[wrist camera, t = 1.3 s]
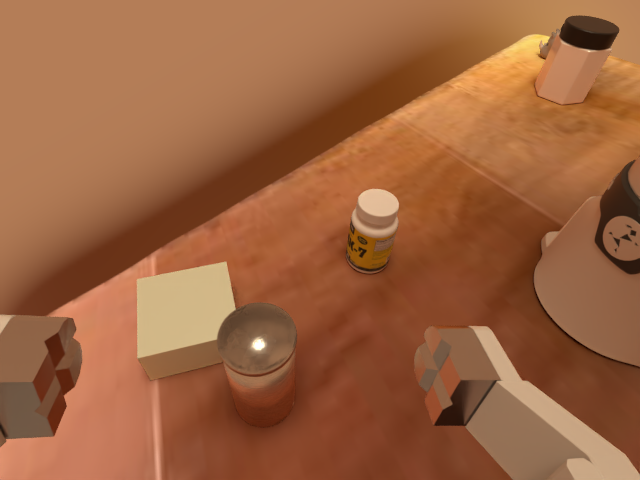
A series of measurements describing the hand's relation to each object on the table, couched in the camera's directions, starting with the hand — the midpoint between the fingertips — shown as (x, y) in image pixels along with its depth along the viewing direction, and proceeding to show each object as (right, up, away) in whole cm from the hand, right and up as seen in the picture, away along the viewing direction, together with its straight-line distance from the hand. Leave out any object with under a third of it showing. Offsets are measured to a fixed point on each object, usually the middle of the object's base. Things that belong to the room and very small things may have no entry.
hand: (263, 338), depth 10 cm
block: (-10, -6, +28) cm, 31 cm away
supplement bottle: (+7, 0, +35) cm, 36 cm away
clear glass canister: (-3, -11, +24) cm, 27 cm away
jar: (+45, +29, +65) cm, 84 cm away
